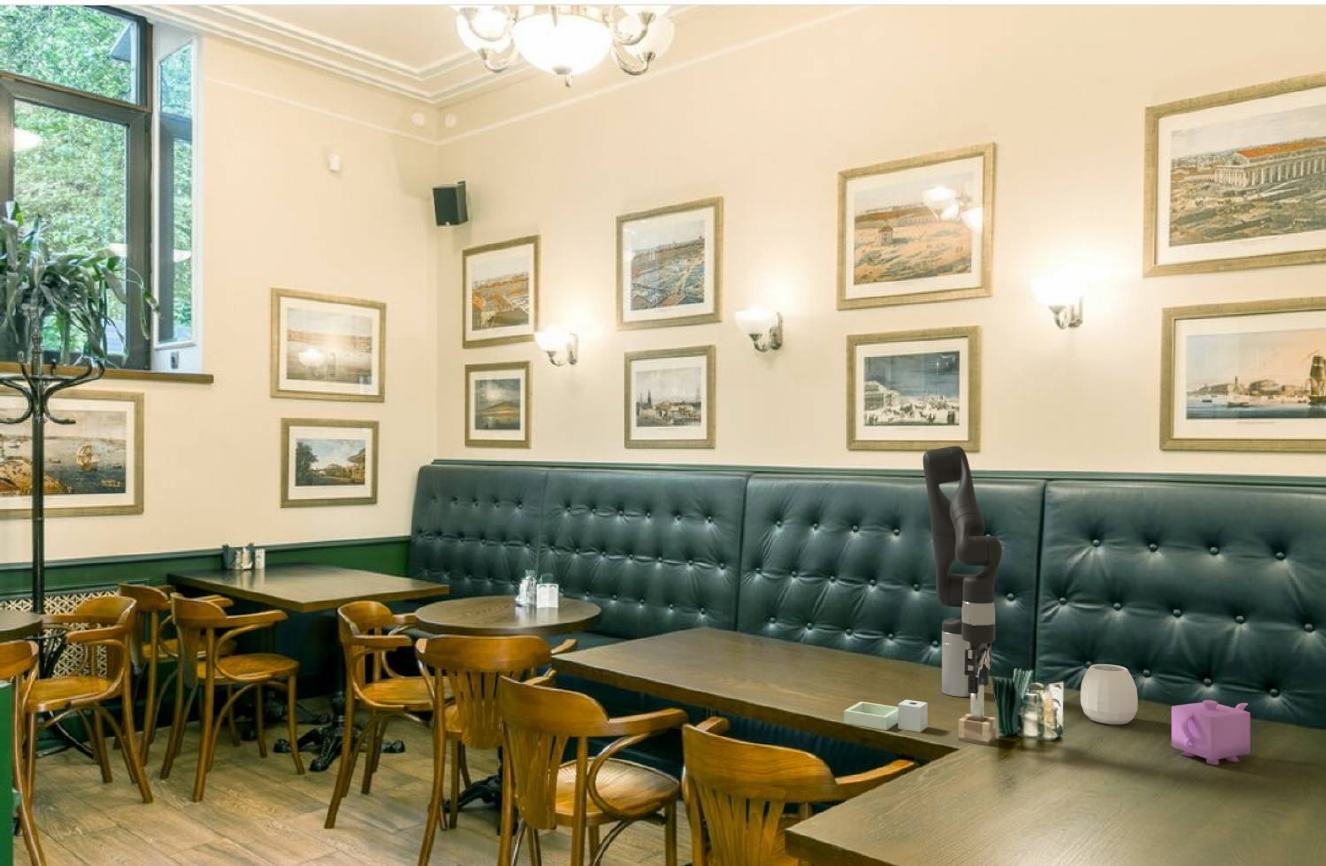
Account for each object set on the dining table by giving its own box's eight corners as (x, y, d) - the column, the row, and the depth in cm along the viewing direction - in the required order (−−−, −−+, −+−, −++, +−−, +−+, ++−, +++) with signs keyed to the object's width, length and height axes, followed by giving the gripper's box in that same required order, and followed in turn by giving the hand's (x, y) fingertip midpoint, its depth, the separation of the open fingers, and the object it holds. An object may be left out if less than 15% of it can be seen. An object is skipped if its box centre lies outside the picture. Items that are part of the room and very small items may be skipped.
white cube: (905, 723, 248) (906, 699, 248) (927, 727, 245) (927, 702, 245) (897, 728, 244) (898, 703, 244) (919, 732, 241) (919, 707, 241)
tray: (860, 713, 257) (861, 701, 257) (902, 720, 251) (902, 707, 251) (844, 723, 248) (844, 710, 248) (886, 730, 242) (886, 717, 242)
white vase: (1137, 717, 255) (1137, 665, 255) (1138, 730, 243) (1138, 675, 243) (1081, 711, 260) (1081, 660, 260) (1079, 724, 248) (1079, 670, 248)
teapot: (1202, 768, 214) (1202, 709, 214) (1163, 754, 224) (1163, 698, 224) (1268, 758, 222) (1268, 701, 222) (1227, 745, 231) (1227, 691, 231)
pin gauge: (972, 733, 237) (972, 682, 237) (985, 735, 235) (985, 684, 236) (969, 736, 235) (968, 685, 235) (982, 738, 233) (981, 686, 233)
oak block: (967, 734, 239) (967, 713, 240) (995, 739, 236) (995, 717, 236) (958, 741, 234) (958, 719, 234) (988, 746, 230) (988, 724, 230)
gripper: (971, 614, 243) (971, 680, 243) (953, 623, 231) (953, 693, 231) (1002, 617, 239) (1002, 685, 239) (986, 626, 227) (986, 698, 227)
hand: (978, 689), depth 235 cm, fingers open, 8 cm apart
